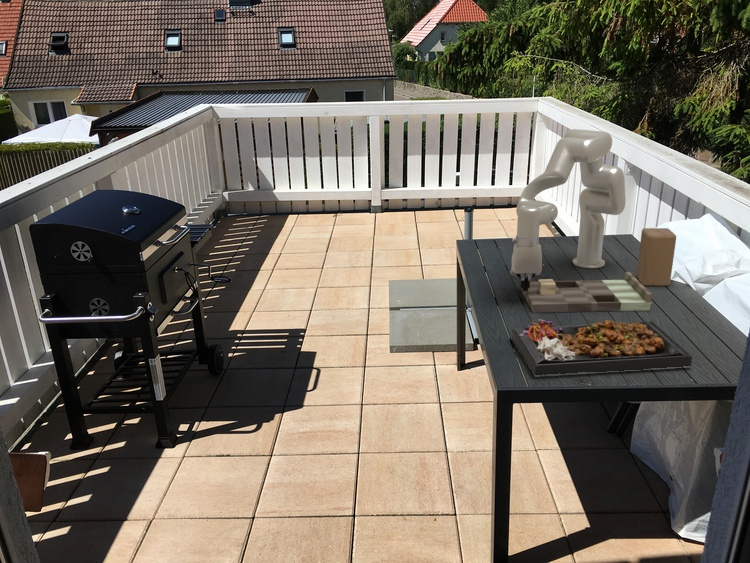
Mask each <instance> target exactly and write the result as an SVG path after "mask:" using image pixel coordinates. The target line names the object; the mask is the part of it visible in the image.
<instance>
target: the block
mask: <svg viewBox="0 0 750 563" xmlns="http://www.w3.org/2000/svg"><path fill="white" fill-rule="evenodd" d="M676 242H677V235H676V234H675V233H674V232H673V231H672V230H671V229H669V228H667V227H666V228H663V227H661V228H660V227H655V228H654V227H649V228H647V227H646V228H642V230H641V235H640V243H639V249H638V250H639V252H638V261H637V267H636V268H637V269H636V279H637V280H638V281H639V282H640V283H641V284H642V285H643V286H644V287H645V286H660V287H663V286H665V287H666V286H670V284H671V279H672V271H673V265H674V264H673V263H674V257H675V252H676V250H675V249H676V244H677V243H676Z"/></svg>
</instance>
